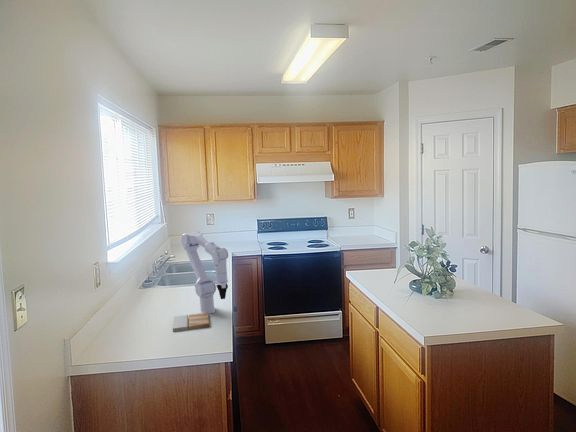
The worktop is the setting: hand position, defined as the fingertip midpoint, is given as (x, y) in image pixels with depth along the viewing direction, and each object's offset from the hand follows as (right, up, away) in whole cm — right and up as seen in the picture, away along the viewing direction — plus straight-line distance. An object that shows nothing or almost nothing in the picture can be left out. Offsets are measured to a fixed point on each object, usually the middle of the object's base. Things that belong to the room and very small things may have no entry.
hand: (222, 298), depth 218 cm
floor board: (-20, -11, -8) cm, 24 cm away
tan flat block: (-11, -10, -6) cm, 16 cm away
